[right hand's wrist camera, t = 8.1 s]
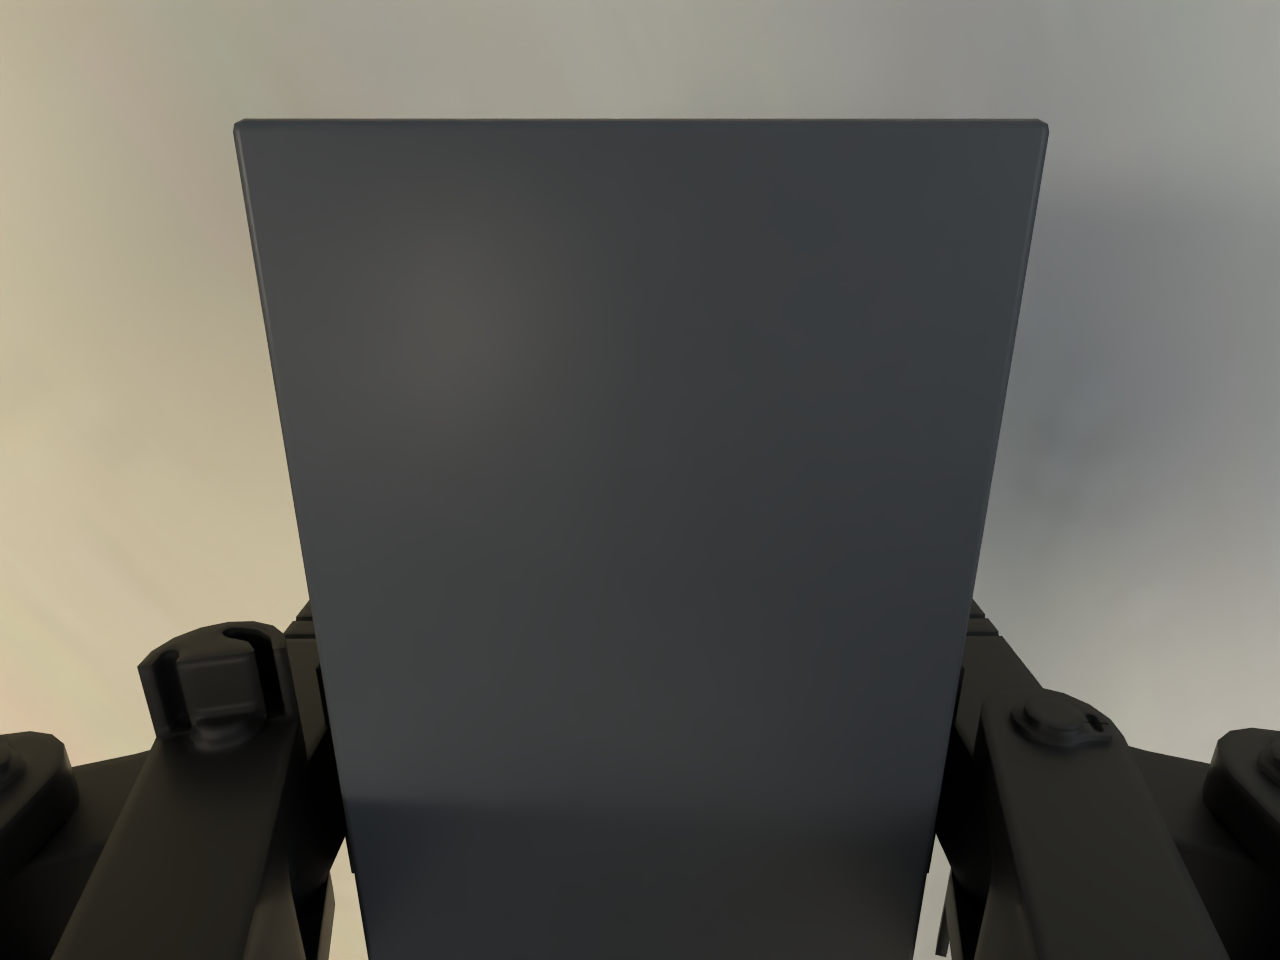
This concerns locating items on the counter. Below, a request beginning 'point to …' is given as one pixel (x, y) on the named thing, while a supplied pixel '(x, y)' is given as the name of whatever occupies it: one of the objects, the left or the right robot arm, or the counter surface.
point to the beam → (640, 511)
